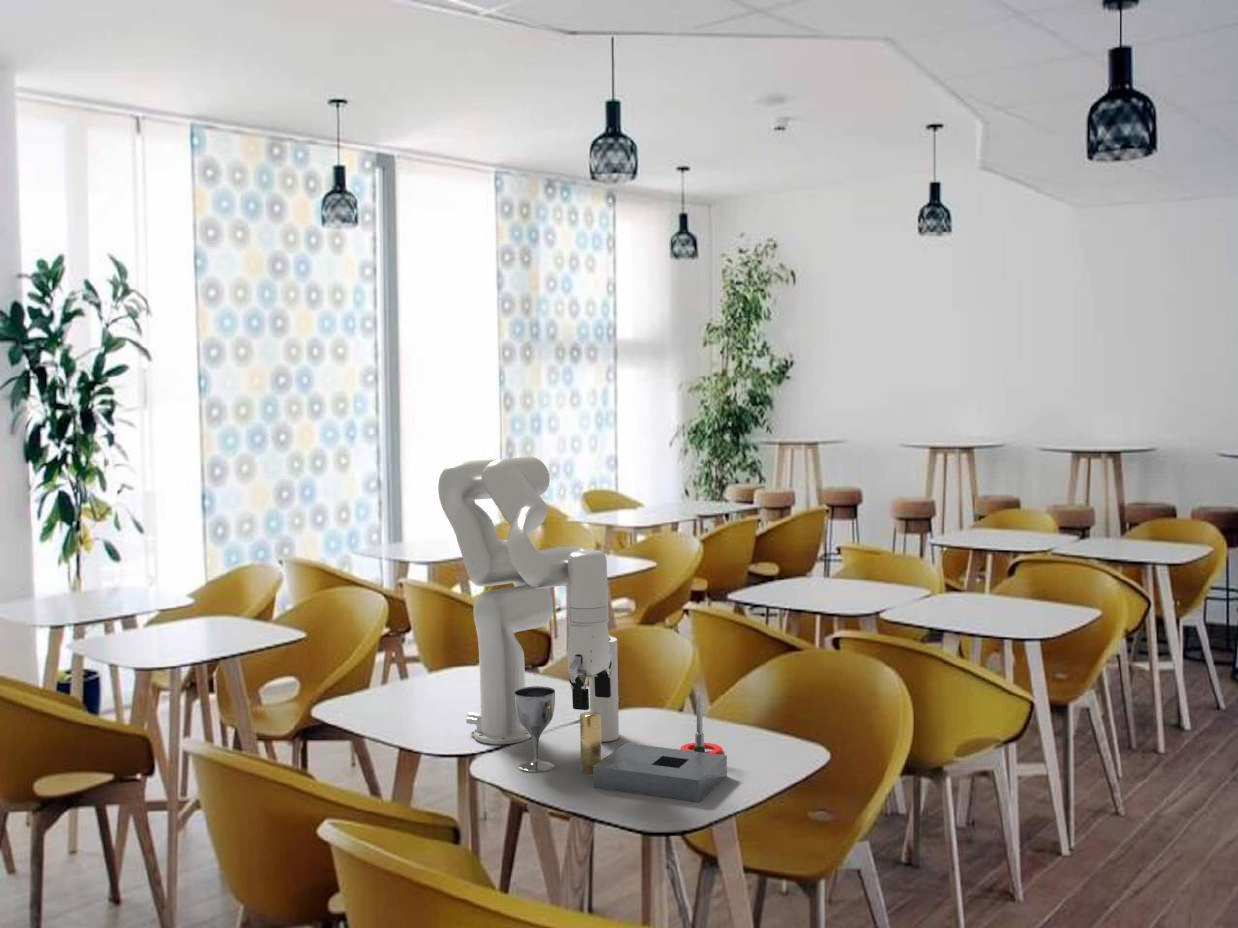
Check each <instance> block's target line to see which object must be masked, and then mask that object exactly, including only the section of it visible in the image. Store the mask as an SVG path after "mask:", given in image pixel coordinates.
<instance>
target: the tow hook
mask: <svg viewBox="0 0 1238 928" xmlns="http://www.w3.org/2000/svg"><path fill="white" fill-rule="evenodd" d="M703 709H704V708H703V704H702V694H700V693H699V694H697V704H696V733H695V734H694V735H695V736H694V737H695V739H694V740H695V741H694V742H690V743H686V744H682V745H681V746H680V750H687V751H695V752H703V753H711V754H719V755H722V753H723V747H722V746H720V745H718V744H716V743H710V742H705V741H704V740H705V739H704V738H705V737H704V734H705V733H704V732H703V726H704V725H703V717H704V716H703V715H704V714H703ZM692 748H693V749H692ZM708 748H709V749H708ZM706 749H708V750H707V751H706Z"/></svg>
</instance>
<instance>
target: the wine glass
mask: <svg viewBox="0 0 1238 928" xmlns="http://www.w3.org/2000/svg"><path fill="white" fill-rule="evenodd" d="M555 707H556V690H555V689H554V688H552V687H549V686H541V685H540V686H539V685H537V686H536V685H535V686H534V685H533V686H525V687H524V688H520V689H517V690H516V691H515V708H516V713H517V717H518V720H519V721H520V723H521V724H522V725H523V726H524V728H525V729H526V730H527V731H528V732H529V733H530V735H531V741H532V745H533V755H534V757H533V760H529V761H528V760H527V761H525V763H524V762H522V763H520V764H519V765H518V767H522V768H523V769H524V770H527V771H529V772H528V773H531V772H538V773H544V772H548V771H551V770H553V769H554V768H555V764H554V763H553V762H551V761H547V760H540V759H539V743H540V738H541V735H542V733H543V732H544V730H545V729H546V728H547V727H548V726H549V724H550V723H551V721H552V720H553V717H554V714H555ZM518 767H517V768H518Z"/></svg>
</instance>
